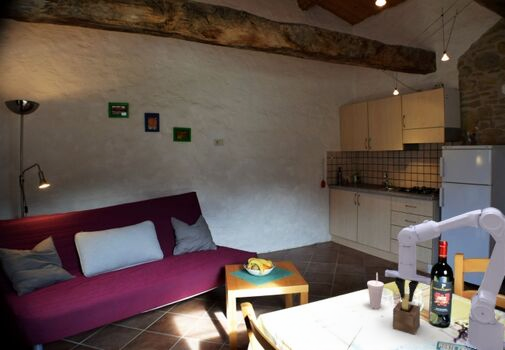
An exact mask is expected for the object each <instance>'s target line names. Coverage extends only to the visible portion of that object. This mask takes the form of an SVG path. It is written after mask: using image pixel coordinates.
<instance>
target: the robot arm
mask: <svg viewBox="0 0 505 350" xmlns="http://www.w3.org/2000/svg"><path fill="white" fill-rule="evenodd" d="M479 225H480V227H481V228H482V229H483V230H484V231H486V233H488V234H490V235H491V237H492V238H493V240H494V241H495V245H494V247H493V249H492V253H491V256H490V259H489V260H488V264H487V267H486V270H485V272H484V274H483V277H482V281H481V284H480V286H479V288H478V290H477V291H476V293H474V294H473V295H472V296H471V297H470V298H471V299H470V305H471V306H470V310H469V311H470V312H469V313H468V333H467V337H468V338H467V339H466V341H465V345H470V346H473V347H475V348H476V349H477V350H504V349H505V341H504V340H505V339H504V337H505V336H504V335H505V333H504V332H505V324H504V323H503V322H500V321H497V318H496V312H495V308H496V305H497V304H496V303H497V298H498V294H499V292H500V289H501V287H502V283H503V280H504V278H505V215H504V213H503V212H502V211H501V210H500V209H498V208H495V207H491V206H490V207H486V208H483V209H476V210H472V211H471V210H470V211H468V212H465V213H462V214H459V215H456V216H453V217H450V218H447V219H444V220H441V221H439V222H437V221H434V220H428V219H425V220H423V222H422V223H420V224H416V225H413V224H411V225H409V227H404V228H402V230H400V232H398V234H397V241H398V243H399V244H398V266H397V267H398V270H389V269H386V270H385V271H384V276H385V277H387V278H388V277H390V278H395V280H394V284H395V285H396V287H397V289H398V292H399V296H400V299H401V301H402V298H403V296H404V295H405V294H406V291H405V290H406V289H405V288H406V281H409V282H408V294H409V302H413V298H414V295H415V292H416V290H417V287H418V285H419V284H425V285H426V286H430V285H431V284H432V283H431V282H432V281H431V277H427V276H424V275H420V274H417V243H422V242H425V241H429V240H432V239H436V238H439V237H440V236H441V234H442V233H443V232H446V231H451V230H454V229H458V228H462V227H467V226H468V227H473V228H476V229H479Z"/></svg>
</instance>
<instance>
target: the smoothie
mask: <svg viewBox="0 0 505 350" xmlns="http://www.w3.org/2000/svg"><path fill="white" fill-rule="evenodd" d="M375 274H376V276H375V277H376V280H368V281H367V284H366V285H367V288H368V296H369V305H370V308H371V309H375V310H380V309H381V305H382V298H383V289H384V288H385V284H384V282H382V281H379V274H378V272H376V273H375Z"/></svg>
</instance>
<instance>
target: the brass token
mask: <svg viewBox="0 0 505 350" xmlns="http://www.w3.org/2000/svg"><path fill="white" fill-rule="evenodd" d="M401 302H402V310H406V311H408V310H409V309H410V307H411V306H412V304H413V303H412V302H413V301H412V302H409V293H405V295H404V296H403V298H402V300H401Z"/></svg>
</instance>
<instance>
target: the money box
mask: <svg viewBox="0 0 505 350" xmlns="http://www.w3.org/2000/svg"><path fill="white" fill-rule="evenodd" d="M392 315H393V316H392V329H393V330H397V331H400V332H403V333H407V334H410V335H416V333H417V331H418V329H419V328H420V324H421V322H420V320H421V305H416V304H413V303H412V306H411V307H410V309H409V310H408V311H406V310H402V301H398V302H397V304H396V305H395V306H394V307H393V310H392Z"/></svg>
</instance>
